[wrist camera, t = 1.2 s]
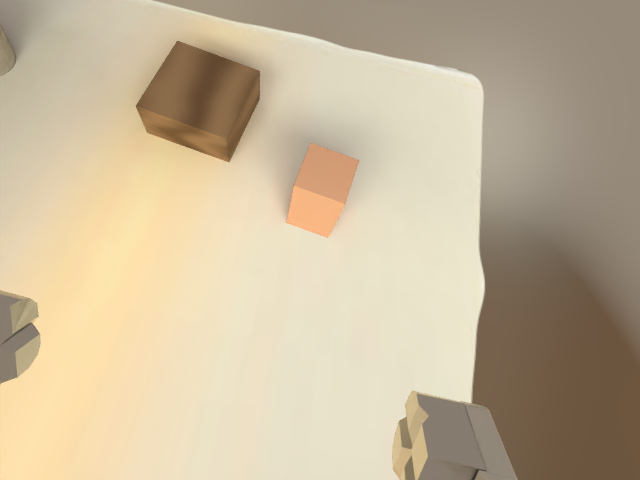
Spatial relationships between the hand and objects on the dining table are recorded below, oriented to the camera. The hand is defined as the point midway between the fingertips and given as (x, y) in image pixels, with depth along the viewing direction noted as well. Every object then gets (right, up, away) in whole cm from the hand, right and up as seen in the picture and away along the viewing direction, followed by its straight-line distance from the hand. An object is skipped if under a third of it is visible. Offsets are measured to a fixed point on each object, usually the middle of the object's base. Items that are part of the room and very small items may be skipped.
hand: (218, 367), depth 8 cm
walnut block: (-12, +18, +39) cm, 44 cm away
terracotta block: (+2, +6, +36) cm, 37 cm away
